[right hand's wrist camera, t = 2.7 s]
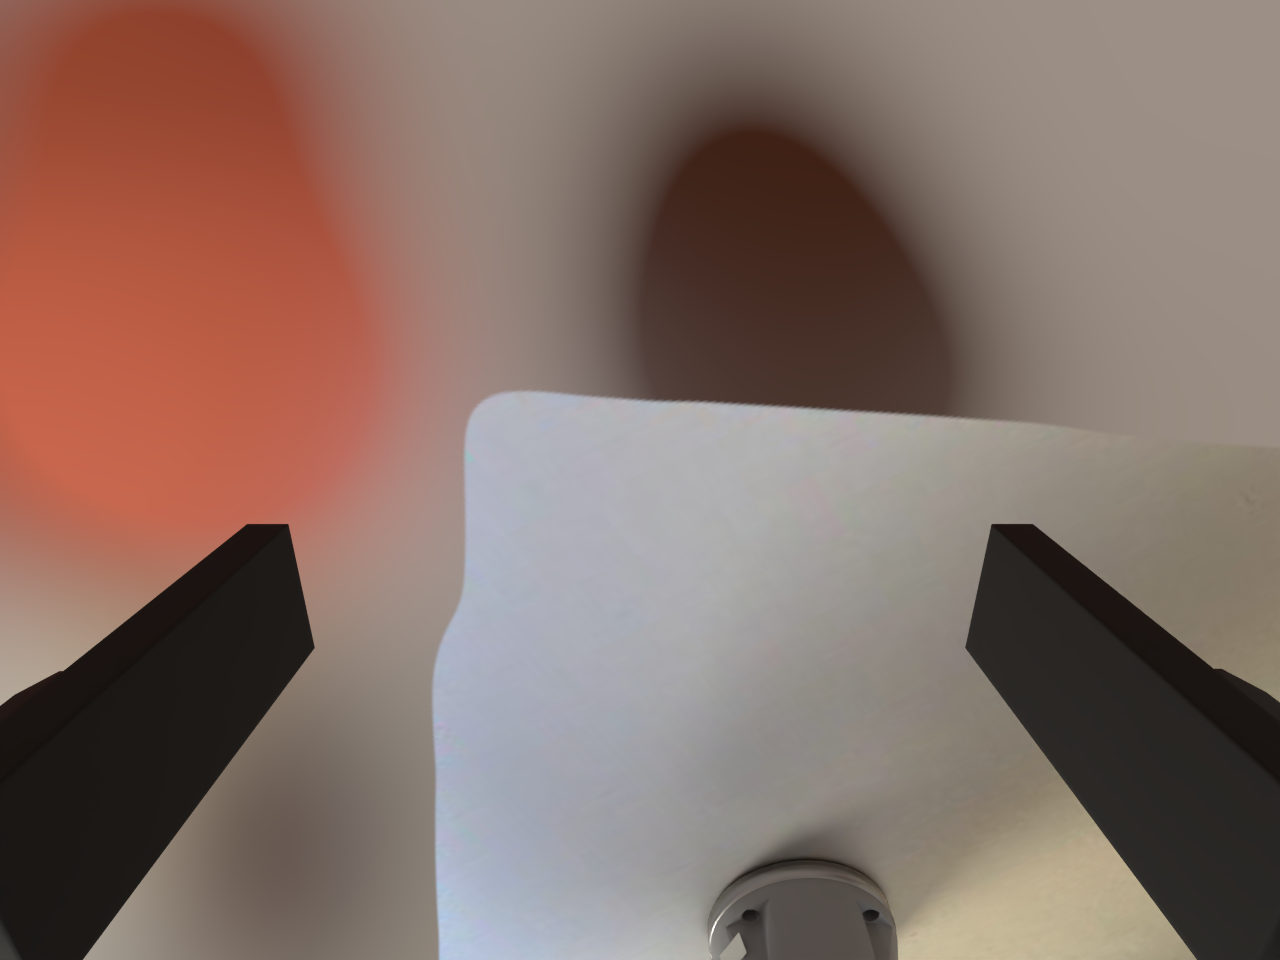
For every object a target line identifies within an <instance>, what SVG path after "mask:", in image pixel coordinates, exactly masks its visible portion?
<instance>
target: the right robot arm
mask: <svg viewBox="0 0 1280 960" xmlns="http://www.w3.org/2000/svg"><path fill="white" fill-rule="evenodd" d="M314 648H315V647H314V643H313V638H312V633H311V628H310V624H309V619H308V615H307V610H306V605H305V600H304V596H303V591H302V586H301V581H300V577H299V572H298V567H297V563H296V558H295V553H294V549H293V544H292V539H291V534H290V530H289V525H288V524H247V525H246V526H244V527H243V528H242V529H241V530H239V531H238V532H237V533H236V534H234V535H233V536H232V537H231V538H229V539H228V540H227V541H226V542H224V543H223V544H222V545H221V546H219V547H218V548H217V549H216V550H214V551H213V552H212V553H211V554H209V555H208V556H207V557H206V558H204V559H203V560H202V561H201V562H199V563H198V564H197V565H196V566H194V567H193V568H192V569H191V570H189V571H188V572H187V573H186V574H184V575H183V576H182V577H181V578H179V579H178V580H177V581H176V582H174V583H173V584H172V585H171V586H169V587H168V588H167V589H166V590H164V591H163V592H162V593H161V594H159V595H158V596H157V597H156V598H154V599H153V600H152V601H151V602H149V603H148V604H147V605H146V606H144V607H143V608H142V609H141V610H139V611H138V612H137V613H136V614H134V615H133V616H132V617H131V618H129V619H128V620H127V621H126V622H124V623H123V624H122V625H121V626H119V627H118V628H117V629H116V630H114V631H113V632H112V633H111V634H109V635H108V636H107V637H106V638H104V639H103V640H102V641H101V642H99V643H98V644H97V645H96V646H94V647H93V648H92V649H91V650H89V651H88V652H87V653H86V654H84V655H83V656H82V657H81V658H79V659H78V660H77V661H75V662H74V663H73V664H72V665H71V666H69V667H68V668H67V669H66V670H64V671H59V672H57V673H55V674H53V675H51V676H49V677H48V678H46V679H44V680H42V681H40V682H38V683H36V684H34V685H33V686H31V687H29V688H27V689H25V690H23V691H21V692H19V693H17V694H15V695H14V696H13V697H11V698H10V699H9V700H7V701H6V702H5V703H4V704H2V705H1V706H0V960H83V959H84V957H85V956H86V955H87V953H88V952H89V951H90V949H91V948H92V947H93V945H94V944H95V943H96V941H97V940H98V939H99V937H100V936H101V935H102V933H103V932H104V930H105V929H106V928H107V926H108V925H109V924H110V922H111V921H112V920H113V918H114V917H115V916H116V914H117V913H118V912H119V910H120V909H121V908H122V906H123V905H124V904H125V902H126V901H127V900H128V898H129V897H130V895H131V894H132V893H133V891H134V890H135V889H136V887H137V886H138V885H139V883H140V882H141V881H142V879H143V878H144V877H145V875H146V874H147V873H148V871H149V870H150V869H151V867H152V866H153V864H154V863H155V862H156V861H157V859H158V858H159V856H160V855H161V854H162V852H163V851H164V850H165V848H166V847H167V846H168V844H169V843H170V842H171V840H172V839H173V838H174V836H175V835H176V834H177V832H178V831H179V830H180V828H181V827H182V826H183V824H184V823H185V822H186V820H187V819H188V817H189V816H190V815H191V813H192V812H193V811H194V809H195V808H196V807H197V805H198V804H199V803H200V801H201V800H202V799H203V797H204V796H205V795H206V793H207V792H208V791H209V789H210V788H211V787H212V785H213V784H214V782H215V781H216V780H217V778H218V777H219V776H220V774H221V773H222V772H223V770H224V769H225V768H226V766H227V765H228V764H229V762H230V761H231V760H232V758H233V757H234V756H235V754H236V753H237V752H238V750H239V749H240V748H241V746H242V745H243V744H244V742H245V741H246V739H247V738H248V737H249V735H250V734H251V733H252V731H253V730H254V729H255V727H256V726H257V725H258V723H259V722H260V721H261V719H262V718H263V717H264V715H265V714H266V713H267V711H268V710H269V709H270V707H271V706H272V704H273V703H274V702H275V700H276V699H277V698H278V696H279V695H280V694H281V692H282V691H283V690H284V688H285V687H286V686H287V684H288V683H289V682H290V680H291V679H292V678H293V676H294V675H295V673H296V672H297V671H298V669H299V668H300V667H301V665H302V664H303V663H304V661H305V660H306V659H307V657H308V656H309V655H310V653H311V652H312V651H313V649H314ZM965 648H966V649H967V651H968V652H969V653H970V655H971V656H972V657H973V659H974V660H975V661H976V663H977V664H978V665H979V667H980V668H981V670H982V671H983V672H984V674H985V675H986V676H987V678H988V679H989V680H990V682H991V683H992V684H993V686H994V687H995V688H996V690H997V691H998V692H999V694H1000V695H1001V696H1002V698H1003V699H1004V700H1005V702H1006V703H1007V704H1008V706H1009V707H1010V709H1011V710H1012V711H1013V713H1014V714H1015V715H1016V717H1017V718H1018V719H1019V721H1020V722H1021V723H1022V725H1023V726H1024V727H1025V729H1026V730H1027V731H1028V733H1029V734H1030V735H1031V737H1032V738H1033V739H1034V741H1035V742H1036V744H1037V745H1038V746H1039V748H1040V749H1041V750H1042V752H1043V753H1044V754H1045V756H1046V757H1047V758H1048V760H1049V761H1050V762H1051V764H1052V765H1053V766H1054V768H1055V769H1056V770H1057V772H1058V773H1059V774H1060V776H1061V777H1062V778H1063V780H1064V781H1065V783H1066V784H1067V785H1068V787H1069V788H1070V789H1071V791H1072V792H1073V793H1074V795H1075V796H1076V797H1077V799H1078V800H1079V801H1080V803H1081V804H1082V805H1083V807H1084V808H1085V809H1086V811H1087V812H1088V813H1089V815H1090V816H1091V817H1092V819H1093V820H1094V822H1095V823H1096V824H1097V826H1098V827H1099V828H1100V830H1101V831H1102V832H1103V834H1104V835H1105V836H1106V838H1107V839H1108V840H1109V842H1110V843H1111V844H1112V846H1113V847H1114V848H1115V850H1116V851H1117V852H1118V854H1119V855H1120V856H1121V858H1122V859H1123V861H1124V862H1125V863H1126V865H1127V866H1128V867H1129V869H1130V870H1131V871H1132V873H1133V874H1134V875H1135V877H1136V878H1137V879H1138V881H1139V882H1140V883H1141V885H1142V886H1143V887H1144V889H1145V890H1146V891H1147V893H1148V894H1149V896H1150V897H1151V898H1152V900H1153V901H1154V902H1155V904H1156V905H1157V906H1158V908H1159V909H1160V910H1161V912H1162V913H1163V914H1164V916H1165V917H1166V918H1167V920H1168V921H1169V922H1170V924H1171V925H1172V926H1173V928H1174V929H1175V930H1176V932H1177V933H1178V935H1179V936H1180V937H1181V939H1182V940H1183V941H1184V943H1185V944H1186V945H1187V947H1188V948H1189V949H1190V951H1191V952H1192V953H1193V955H1194V956H1195V957H1196V959H1197V960H1280V703H1279V702H1278V701H1277V700H1276V699H1274V698H1273V697H1272V696H1270V695H1269V694H1268V693H1266V692H1265V691H1263V690H1261V689H1259V688H1257V687H1255V686H1253V685H1251V684H1249V683H1247V682H1246V681H1244V680H1242V679H1240V678H1238V677H1236V676H1234V675H1232V674H1230V673H1228V672H1226V671H1225V670H1223V669H1213V668H1212V667H1211V666H1210V665H1208V664H1207V663H1206V662H1205V661H1203V660H1202V659H1201V658H1200V657H1198V656H1197V655H1196V654H1194V653H1193V652H1192V651H1191V650H1189V649H1188V648H1187V647H1186V646H1184V645H1183V644H1182V643H1181V642H1179V641H1178V640H1177V639H1176V638H1174V637H1173V636H1172V635H1171V634H1169V633H1168V632H1167V631H1166V630H1164V629H1163V628H1162V627H1161V626H1159V625H1158V624H1157V623H1156V622H1154V621H1153V620H1152V619H1151V618H1149V617H1148V616H1147V615H1146V614H1144V613H1143V612H1142V611H1141V610H1139V609H1138V608H1137V607H1136V606H1134V605H1133V604H1132V603H1131V602H1129V601H1128V600H1127V599H1126V598H1124V597H1123V596H1122V595H1121V594H1119V593H1118V592H1117V591H1116V590H1114V589H1113V588H1112V587H1111V586H1109V585H1108V584H1107V583H1106V582H1104V581H1103V580H1102V579H1101V578H1099V577H1098V576H1097V575H1096V574H1094V573H1093V572H1092V571H1091V570H1089V569H1088V568H1087V567H1086V566H1084V565H1083V564H1082V563H1081V562H1079V561H1078V560H1077V559H1076V558H1074V557H1073V556H1072V555H1071V554H1069V553H1068V552H1067V551H1066V550H1064V549H1063V548H1062V547H1061V546H1059V545H1058V544H1057V543H1056V542H1054V541H1053V540H1052V539H1051V538H1049V537H1048V536H1047V535H1046V534H1044V533H1043V532H1042V531H1041V530H1039V529H1038V528H1037V527H1036V526H1034V525H1033V524H992V525H991V530H990V534H989V539H988V544H987V549H986V553H985V558H984V563H983V567H982V572H981V577H980V581H979V586H978V591H977V596H976V600H975V605H974V610H973V614H972V619H971V624H970V628H969V633H968V638H967V643H966V647H965ZM708 937H709V947H710V954H711V958H712V960H898V946H897V935H896V927H895V923H894V920H893V917H892V914H891V911H890V908H889V906H888V903H887V900H886V898H885V896H884V894H883V893H882V891H881V890H880V889H879V888H878V886H877V885H876V884H875V883H874V882H872V881H871V880H870V879H869V878H867V877H866V876H865V875H863V874H861V873H859V872H858V871H856V870H853V869H851V868H849V867H846V866H843V865H839V864H836V863H831V862H826V861H817V860H797V861H787V862H782V863H777V864H773V865H769V866H766V867H763V868H760V869H758V870H755V871H753V872H751V873H749V874H747V875H745V876H743V877H742V878H740V879H739V880H737V881H736V882H734V883H733V884H732V885H730V886H729V887H728V888H727V889H726V890H725V891H724V892H723V893H722V894H721V895H720V897H719V898H718V899H717V901H716V902H715V904H714V906H713V908H712V910H711V913H710V916H709V921H708Z"/></svg>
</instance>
